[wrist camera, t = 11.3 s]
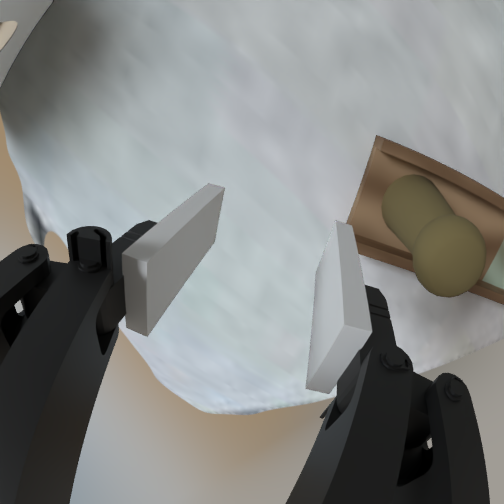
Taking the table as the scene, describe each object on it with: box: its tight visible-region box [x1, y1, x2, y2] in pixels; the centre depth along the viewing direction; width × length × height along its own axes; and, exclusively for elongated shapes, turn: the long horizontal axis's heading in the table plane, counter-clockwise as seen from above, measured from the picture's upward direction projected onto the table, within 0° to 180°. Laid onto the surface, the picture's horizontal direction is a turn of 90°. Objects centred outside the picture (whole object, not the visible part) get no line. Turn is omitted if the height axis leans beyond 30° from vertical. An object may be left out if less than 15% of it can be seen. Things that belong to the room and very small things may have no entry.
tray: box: [346, 135, 504, 304], centre depth 22 cm, size 10×27×5 cm, turn 77°
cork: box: [381, 174, 487, 297], centre depth 19 cm, size 6×6×11 cm
